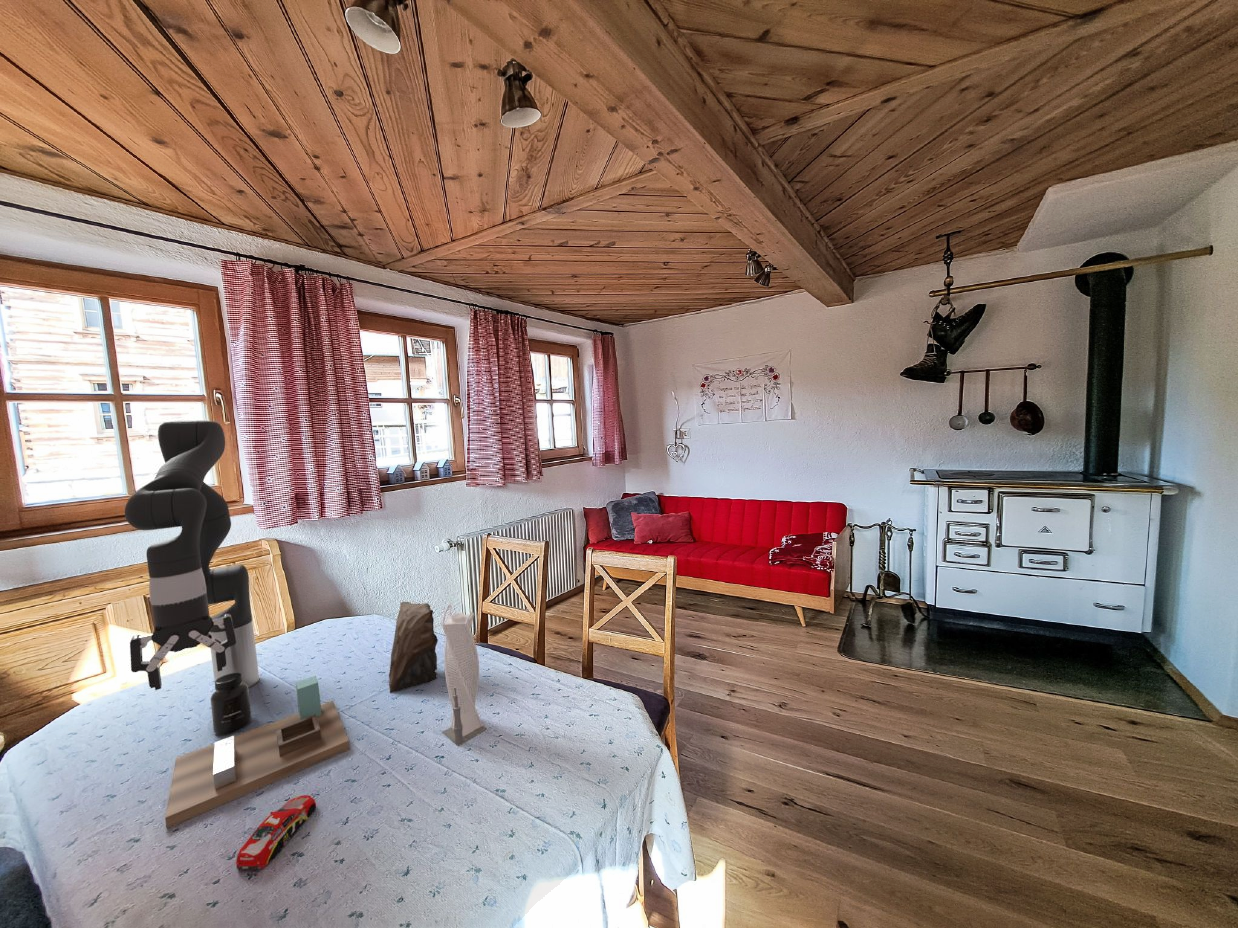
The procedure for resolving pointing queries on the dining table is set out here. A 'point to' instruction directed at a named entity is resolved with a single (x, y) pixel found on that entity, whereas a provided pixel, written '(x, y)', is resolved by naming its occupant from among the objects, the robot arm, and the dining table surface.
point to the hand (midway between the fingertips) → (190, 678)
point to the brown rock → (413, 648)
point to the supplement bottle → (230, 704)
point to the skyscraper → (461, 677)
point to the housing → (255, 761)
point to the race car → (275, 833)
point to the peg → (308, 697)
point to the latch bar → (224, 762)
